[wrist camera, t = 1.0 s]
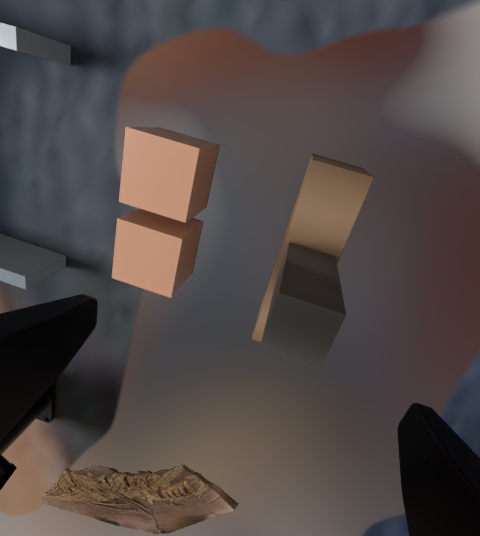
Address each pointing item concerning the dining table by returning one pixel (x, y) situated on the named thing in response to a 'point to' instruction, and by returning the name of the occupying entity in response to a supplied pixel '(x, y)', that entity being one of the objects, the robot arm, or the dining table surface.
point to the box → (4, 247)
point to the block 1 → (166, 172)
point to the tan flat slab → (140, 497)
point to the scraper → (312, 263)
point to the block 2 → (155, 251)
